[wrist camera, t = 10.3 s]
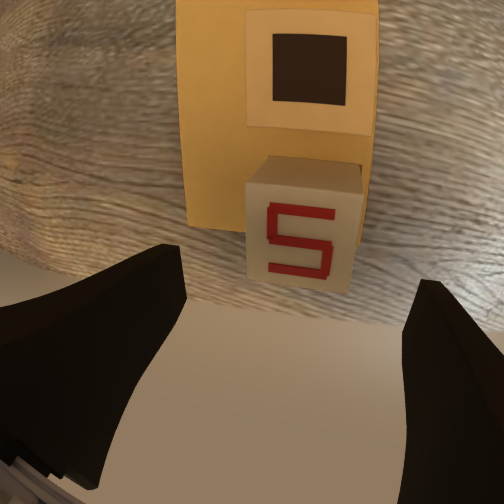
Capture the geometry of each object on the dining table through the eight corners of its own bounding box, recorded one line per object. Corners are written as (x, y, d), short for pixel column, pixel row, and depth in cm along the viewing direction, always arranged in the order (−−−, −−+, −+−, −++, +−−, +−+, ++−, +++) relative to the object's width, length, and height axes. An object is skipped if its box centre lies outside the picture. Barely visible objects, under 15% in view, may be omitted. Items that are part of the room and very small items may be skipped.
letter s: (349, 244, 15) (347, 296, 12) (268, 234, 16) (245, 281, 13) (359, 164, 13) (364, 196, 10) (269, 155, 14) (242, 183, 11)
